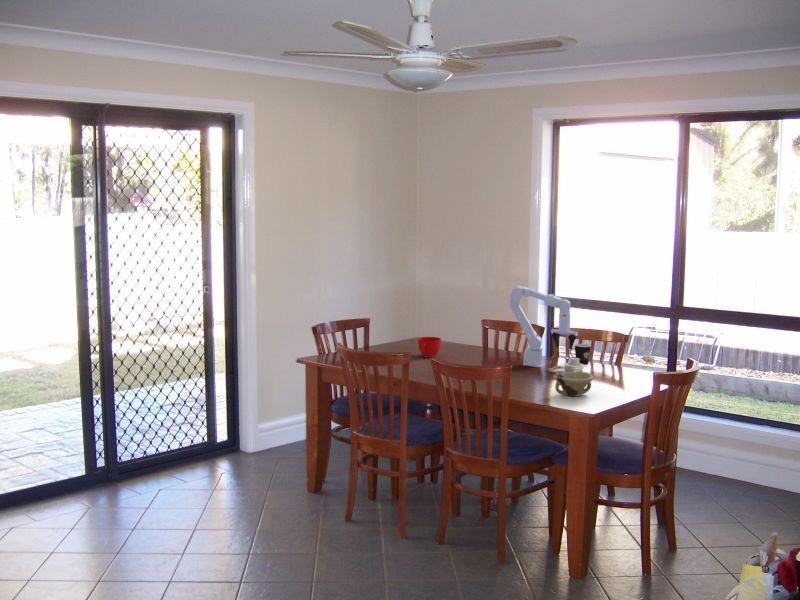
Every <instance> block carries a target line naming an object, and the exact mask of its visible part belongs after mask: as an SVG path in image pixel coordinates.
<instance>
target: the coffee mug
mask: <svg viewBox="0 0 800 600" xmlns="http://www.w3.org/2000/svg"><path fill="white" fill-rule="evenodd" d="M591 348H592V345H591V344H588V343H587V344H586V343H577V344H574V347H572V349H569V354H570V356H571V358H573V357H574V358H580V362H579V363H581V364H583V365H584V366H585V365H589V362H590V355H591ZM572 350H574V352H575V353H574V354H575V356H574V355H573V354H572V353H571V352H572Z"/></svg>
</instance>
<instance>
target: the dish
mask: <svg viewBox="0 0 800 600" xmlns="http://www.w3.org/2000/svg"><path fill="white" fill-rule="evenodd" d="M566 365H569V362H566V363H565V366H566ZM584 366H585V364H581V363H579V366H574V368H576V369H582V370H583V369H584V368H585V367H584Z"/></svg>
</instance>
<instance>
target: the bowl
mask: <svg viewBox="0 0 800 600" xmlns="http://www.w3.org/2000/svg"><path fill="white" fill-rule="evenodd" d="M593 378H594V376H593V374H591V373H590V372H585V371H582V372H565V373H556V374H554V375H553V379H554V380H555V381H556V382H555V385H554V387H555V391H556V392H557V393H559V394H560V395H562V396H564V395H565V396H566V397H579V396H581V395H584V394H587V393H588V392H589V391H590V390H591V388H592V383H591V382H592V381H593ZM560 387H561V389H562V390H561V389H560Z"/></svg>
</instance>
